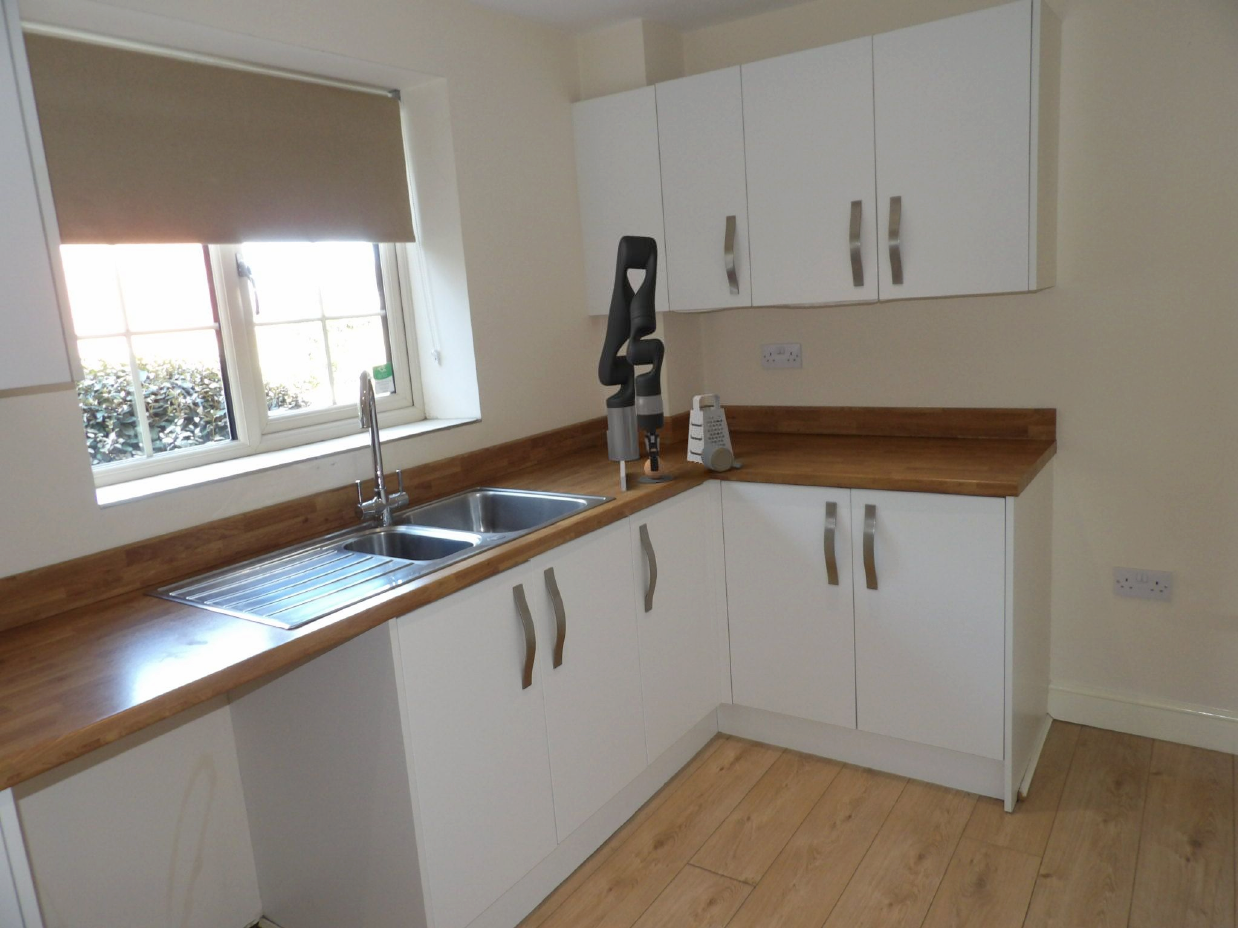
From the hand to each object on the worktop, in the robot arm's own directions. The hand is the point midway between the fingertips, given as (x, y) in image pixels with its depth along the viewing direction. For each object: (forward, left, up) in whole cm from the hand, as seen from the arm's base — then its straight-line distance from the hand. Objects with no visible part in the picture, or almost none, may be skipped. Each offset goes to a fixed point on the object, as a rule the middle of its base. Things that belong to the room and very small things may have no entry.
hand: (654, 468), depth 253 cm
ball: (0, 0, 0) cm, 0 cm away
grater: (-4, +30, -3) cm, 30 cm away
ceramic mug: (+9, +19, -4) cm, 21 cm away
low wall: (-6, -6, -3) cm, 9 cm away
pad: (0, 0, -3) cm, 3 cm away
